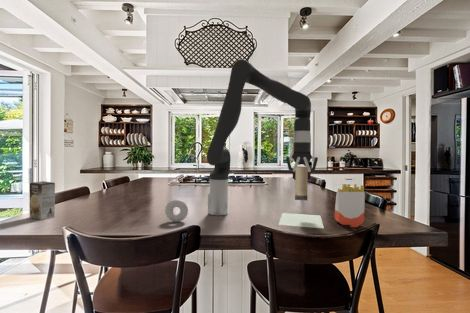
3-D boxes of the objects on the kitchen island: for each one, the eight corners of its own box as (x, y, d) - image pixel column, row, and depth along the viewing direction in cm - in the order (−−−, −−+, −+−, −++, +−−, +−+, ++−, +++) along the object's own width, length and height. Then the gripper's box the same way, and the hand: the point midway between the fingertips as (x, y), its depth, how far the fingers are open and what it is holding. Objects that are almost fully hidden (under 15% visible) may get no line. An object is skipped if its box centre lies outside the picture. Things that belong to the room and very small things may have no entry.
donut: (164, 222, 119) (164, 199, 118) (166, 220, 122) (166, 198, 122) (187, 223, 118) (187, 200, 118) (188, 221, 122) (188, 198, 122)
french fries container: (334, 224, 120) (335, 182, 119) (358, 224, 120) (359, 183, 119) (338, 226, 115) (339, 184, 115) (364, 227, 115) (365, 184, 115)
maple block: (295, 196, 127) (294, 199, 118) (295, 165, 127) (295, 167, 117) (306, 196, 126) (307, 200, 116) (307, 166, 126) (307, 167, 116)
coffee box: (28, 217, 124) (28, 182, 124) (43, 214, 130) (43, 181, 130) (41, 220, 121) (40, 183, 120) (55, 217, 126) (55, 182, 126)
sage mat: (278, 227, 114) (278, 224, 114) (282, 215, 135) (282, 213, 135) (323, 230, 109) (323, 228, 109) (320, 217, 131) (320, 215, 131)
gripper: (284, 141, 118) (284, 180, 119) (319, 141, 115) (318, 181, 115) (285, 141, 126) (285, 178, 126) (318, 141, 122) (318, 180, 123)
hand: (301, 180), depth 121 cm, fingers closed on maple block, 5 cm apart
